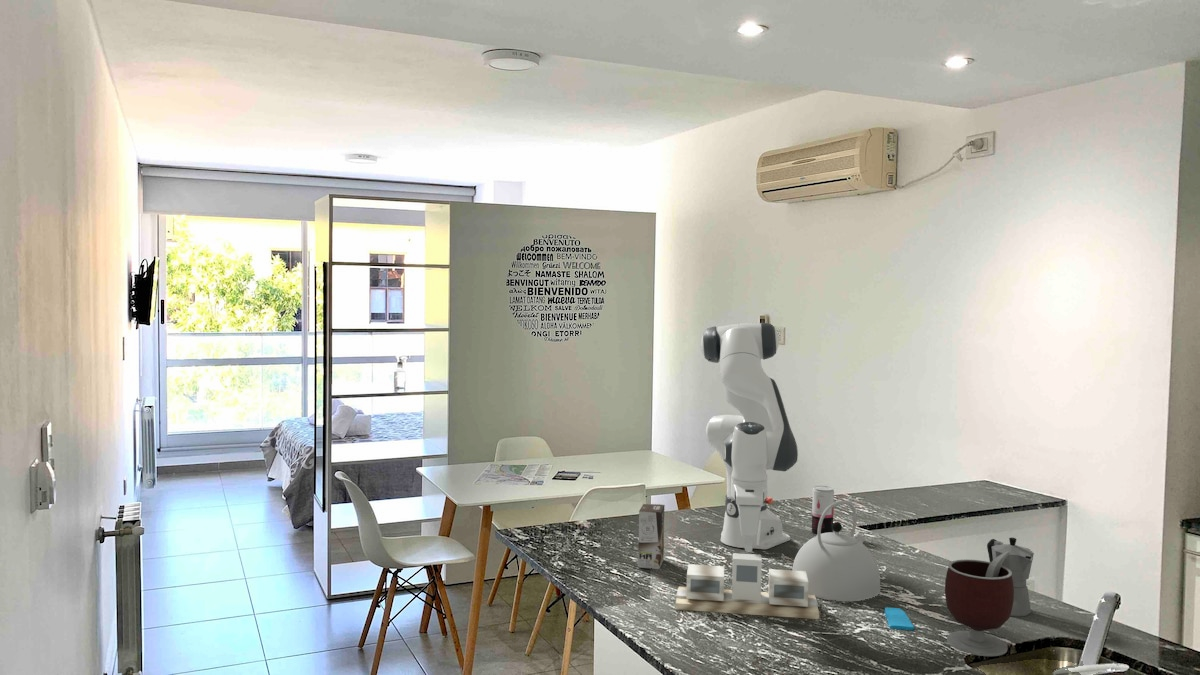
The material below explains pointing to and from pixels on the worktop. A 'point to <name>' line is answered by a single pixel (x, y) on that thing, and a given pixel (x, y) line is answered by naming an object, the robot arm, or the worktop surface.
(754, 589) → the block
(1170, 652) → the worktop surface
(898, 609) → the sponge
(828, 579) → the kettle
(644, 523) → the coffee box
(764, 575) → the worktop surface
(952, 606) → the mate gourd
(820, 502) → the beverage can
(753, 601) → the rail board
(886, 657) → the worktop surface
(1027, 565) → the coffeepot
